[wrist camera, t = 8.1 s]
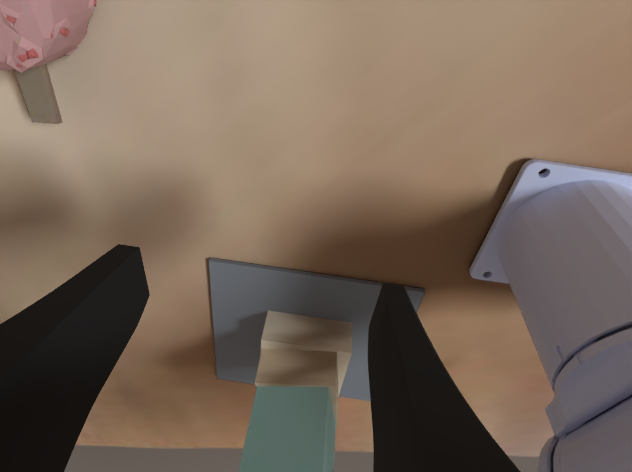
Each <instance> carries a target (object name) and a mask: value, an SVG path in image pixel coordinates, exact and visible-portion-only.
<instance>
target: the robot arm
mask: <svg viewBox="0 0 632 472" xmlns="http://www.w3.org/2000/svg"><path fill="white" fill-rule="evenodd" d="M545 168H547V170H546V171H545V172H544V173H542V174H539V172H540V171H541V170H542V169H545ZM469 272H470V275H471V277H472V278H474V279H479V280H486V281H493V282H499V283H506V284H510V287H511V289H512V292H513V294H514V297H515V299H516V301H517V304H518V306H519V309H520V311H521V314H522V316H523V318H524V321H525V323H526V326H527V328H528V331H529V333H530V335H531V338H532V340H533V343H534V345H535V348H536V350H537V352H538V355H539V357H540V360H541V362H542V364H543V367H544V369H545V372H546V374H547V377H548V379H549V381H550V384H551V386H552V389H553V391H554V399H553V401H552V402H551V403H550V404H549V405H548V406H547V407H546V408H545V411H546V413H547V416H548V419H549V421H550V424H551V427H552V429H553V432H554V434H555V435H554V436H553V437H551V438H550V439H549V440H548V441H547V442H546V444H545V445H544V446H543V448H542V450H541V453H540V456H539V462H538V472H632V173H626V172H619V171H612V170H606V169H599V168H592V167H586V166H579V165H572V164H566V163H559V162H552V161H546V160H539V159H532V160H529V161H527V162H525V163H524V164H523V166H522V167H521V169H520V171H519V173H518V175H517V177H516V179H515V181H514V183H513V185H512V187H511V189H510V191H509V193H508V195H507V197H506V199H505V200H504V202H503V204H502V206H501V208H500V210H499V212H498V214H497V216H496V218H495V220H494V222H493V224H492V226H491V228H490V230H489V232H488V234H487V236H486V238H485V240H484V242H483V244H482V246H481V248H480V249H479V251H478V253H477V255H476V257H475V259H474V261H473V263H472V265H471V267H470V270H469ZM485 272H489V273H485ZM484 273H485V274H484ZM149 295H150V294H149V289H148V285H147V280H146V275H145V271H144V266H143V262H142V257H141V252H140V248H139V247H133V246H127V245H120V244H119V245H117V246H116V247H114V248H113V249H111V250H110V251H108V252H107V253H106V254H104V255H103V256H102V257H100V258H99V259H97V260H96V261H95V262H93V263H92V264H90V265H89V266H88V267H86V268H85V269H83V270H82V271H81V272H79V273H78V274H76V275H75V276H74V277H72V278H71V279H69V280H68V281H66V282H65V283H64V284H62V285H61V286H59V287H58V288H56V289H55V290H54V291H52V292H51V293H49V294H48V295H46V296H44V297H43V298H41V299H40V300H38V301H37V302H35V303H34V304H32V305H30V306H29V307H27V308H26V309H24V310H23V311H21V312H20V313H18V314H16V315H15V316H13V317H12V318H10V319H8V320H7V321H5V322H3V323H1V324H0V472H64V470H65V468H66V465H67V463H68V460H69V458H70V456H71V453H72V451H73V449H74V446H75V444H76V441H77V439H78V437H79V435H80V432H81V430H82V428H83V426H84V423H85V421H86V419H87V417H88V414H89V412H90V410H91V408H92V406H93V404H94V402H95V400H96V398H97V396H98V394H99V393H100V391H101V389H102V387H103V386H104V384H105V382H106V380H107V378H108V377H109V375H110V373H111V371H112V370H113V368H114V366H115V364H116V363H117V361H118V359H119V357H120V356H121V354H122V352H123V350H124V349H125V347H126V345H127V343H128V342H129V340H130V338H131V336H132V334H133V333H134V331H135V329H136V327H137V325H138V323H139V320H140V318H141V316H142V313H143V311H144V308H145V306H146V303H147V300H148V298H149ZM368 373H369V386H370V399H371V411H372V424H373V441H374V472H520V471H519V470H518V468H517V467H516V466H515V465H514V463H513V462H512V461H511V460H510V459H509V457H508V456H507V455H506V454H505V452H504V451H503V450H502V449H501V447H500V446H499V445H498V444H497V443H496V441H495V440H494V439H493V438H492V436H491V435H490V434H489V432H488V431H487V430H486V428H485V427H484V425H483V424H482V423H481V421H480V420H479V419H478V417H477V416H476V415H475V413H474V412H473V410H472V409H471V407H470V406H469V404H468V403H467V402H466V400H465V399H464V397H463V396H462V394H461V393H460V391H459V389H458V388H457V386H456V385H455V383H454V382H453V380H452V378H451V377H450V375H449V373H448V372H447V370H446V368H445V367H444V365H443V363H442V361H441V360H440V358H439V356H438V354H437V352H436V351H435V349H434V347H433V345H432V343H431V341H430V339H429V338H428V336H427V334H426V332H425V330H424V328H423V326H422V324H421V322H420V320H419V317H418V315H417V313H416V311H415V309H414V307H413V304H412V302H411V300H410V298H409V295H408V293H407V290H406V289H405V287H404V286H400V285H393V284H386V283H383V285H382V288H381V291H380V294H379V297H378V300H377V303H376V306H375V309H374V312H373V315H372V318H371V321H370V324H369V332H368Z"/></svg>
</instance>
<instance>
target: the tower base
mask: <svg viewBox="0 0 632 472" xmlns="http://www.w3.org/2000/svg"><path fill="white" fill-rule="evenodd" d="M262 349H281V350H306V351H331V352H337V367H338V397H339V394H340V390H341V387H342V384H343V380H344V377H345V374H346V371H347V367H348V364H349V361H350V357H351V354H352V323H351V322H344V321H337V320H331V319H324V318H317V317H310V316H303V315H296V314H289V313H282V312H275V311H269V310H268V313H267V317H266V321H265V326H264V330H263V334H262V339H261V352H262ZM260 357H261V353H260Z"/></svg>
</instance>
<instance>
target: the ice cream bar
mask: <svg viewBox="0 0 632 472" xmlns="http://www.w3.org/2000/svg"><path fill="white" fill-rule="evenodd" d="M94 6H96V0H0V70H13V69H14V71H15V74H16V77H17V80H18V82H19V85H20V88H21V91H22V94H23V97H24V99H25V102H26V105H27V108H28V111H29V114H30V117H31V119H32V122H39V123H53V124H59V123H63V122H62V119H61V115H60V112H59V108H58V104H57V101H56V97H55V94H54V90H53V86H52V83H51V79H50V76H49V72H48V69H47V65H46V64H47V63H49V62H51V61H53V60H55V59H57V58H59V57H61V56H63V55H67V56H69V55H70V54H71V53H72V52H73V51H74V50H75V49H76V48H77V46H78V45H79V43H80V42H81V41H82V40H83V38H84V37H85V35H86V33H87V27H88V24H89V20H90V18H91V17H92V16H93V11H94Z"/></svg>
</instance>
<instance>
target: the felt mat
mask: <svg viewBox="0 0 632 472" xmlns="http://www.w3.org/2000/svg"><path fill="white" fill-rule="evenodd" d="M209 273H210V287H211V301H212V315H213V329H214V343H215V357H216V371H217V379H221V380H228V381H235V382H242V383H249V384H255V379H256V374H257V370H258V366H259V361H260V353H261V339H262V334H263V330H264V326H265V321H266V317H267V313H268V310H269V311H275V312H282V313H289V314H296V315H303V316H310V317H317V318H324V319H331V320H337V321H344V322H351V323H352V354H351V357H350V361H349V364H348V367H347V371H346V374H345V377H344V380H343V384H342V387H341V390H340V394H339V397H346V398H353V399H360V400H367V401H371V399H370V386H369V373H368V332H369V324H370V321H371V318H372V315H373V312H374V309H375V306H376V303H377V300H378V297H379V294H380V291H381V288H382V285H383V283H380V282H373V281H366V280H359V279H353V278H346V277H339V276H332V275H325V274H318V273H312V272H305V271H298V270H291V269H284V268H277V267H271V266H264V265H257V264H250V263H243V262H237V261H230V260H223V259H216V258H210V259H209ZM386 284H387V283H386ZM393 285H394V284H393ZM404 287H405V289H406V290H407V293H408V295H409V298H410V300H411V302H412V304H413V307H414V309H415V311H416V312H417V310H418V307H419V305H420V303H421V301H422V298H423V296H424V294H425V290H424V289H421V288H414V287H407V286H404Z"/></svg>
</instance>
